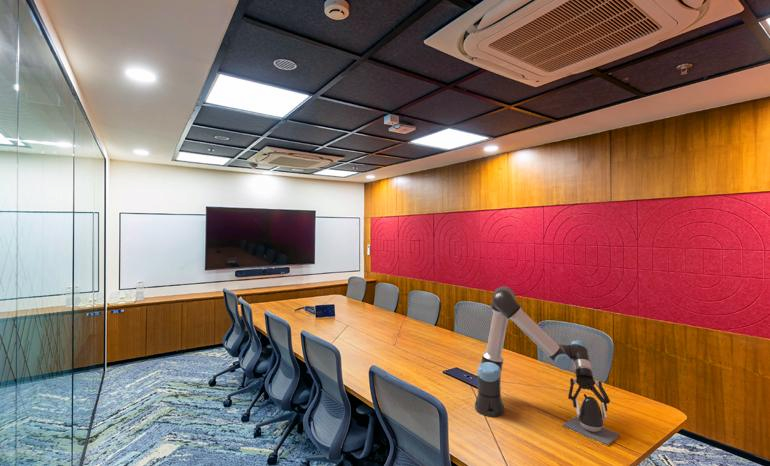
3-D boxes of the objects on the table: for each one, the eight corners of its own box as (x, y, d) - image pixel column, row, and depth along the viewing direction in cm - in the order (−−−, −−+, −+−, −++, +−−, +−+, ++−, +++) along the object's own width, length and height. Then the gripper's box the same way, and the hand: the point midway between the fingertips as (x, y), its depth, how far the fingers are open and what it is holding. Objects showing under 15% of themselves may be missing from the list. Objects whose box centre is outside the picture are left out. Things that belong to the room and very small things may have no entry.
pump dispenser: (594, 423, 173) (594, 392, 173) (608, 435, 162) (608, 402, 162) (573, 423, 172) (574, 392, 173) (586, 435, 162) (586, 402, 162)
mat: (607, 446, 155) (607, 444, 155) (562, 426, 172) (562, 424, 172) (619, 436, 163) (619, 434, 163) (575, 418, 179) (575, 416, 179)
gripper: (607, 376, 179) (618, 422, 164) (557, 371, 185) (563, 415, 170) (610, 369, 174) (621, 417, 159) (559, 364, 180) (565, 410, 165)
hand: (591, 416), depth 164 cm, fingers open, 10 cm apart
